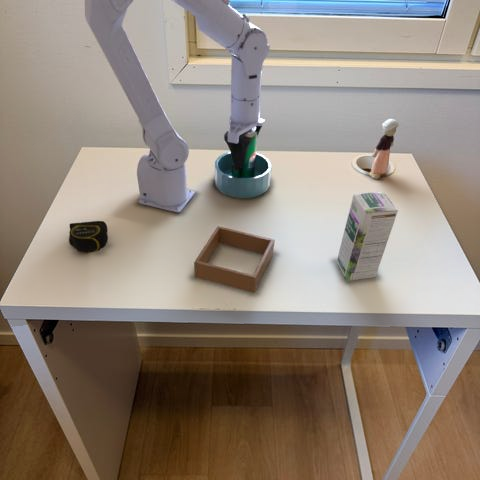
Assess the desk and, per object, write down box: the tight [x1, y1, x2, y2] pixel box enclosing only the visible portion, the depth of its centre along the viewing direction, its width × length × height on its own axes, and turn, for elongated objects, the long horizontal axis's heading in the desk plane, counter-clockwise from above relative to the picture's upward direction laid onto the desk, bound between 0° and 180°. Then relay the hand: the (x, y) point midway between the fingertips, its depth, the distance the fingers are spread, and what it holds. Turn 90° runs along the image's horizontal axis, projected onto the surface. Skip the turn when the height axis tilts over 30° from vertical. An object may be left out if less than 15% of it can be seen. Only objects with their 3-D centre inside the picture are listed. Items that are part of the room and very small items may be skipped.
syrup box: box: [336, 191, 399, 282], centre depth 80 cm, size 6×6×14 cm
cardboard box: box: [193, 225, 276, 294], centre depth 84 cm, size 11×11×4 cm
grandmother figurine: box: [368, 118, 400, 180], centre depth 104 cm, size 8×4×13 cm, turn 148°
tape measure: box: [68, 220, 109, 254], centre depth 87 cm, size 7×7×4 cm
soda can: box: [232, 127, 258, 178], centre depth 99 cm, size 5×5×12 cm
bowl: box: [214, 151, 272, 199], centre depth 103 cm, size 12×12×4 cm
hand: (243, 160), depth 100 cm, fingers closed on soda can, 5 cm apart
